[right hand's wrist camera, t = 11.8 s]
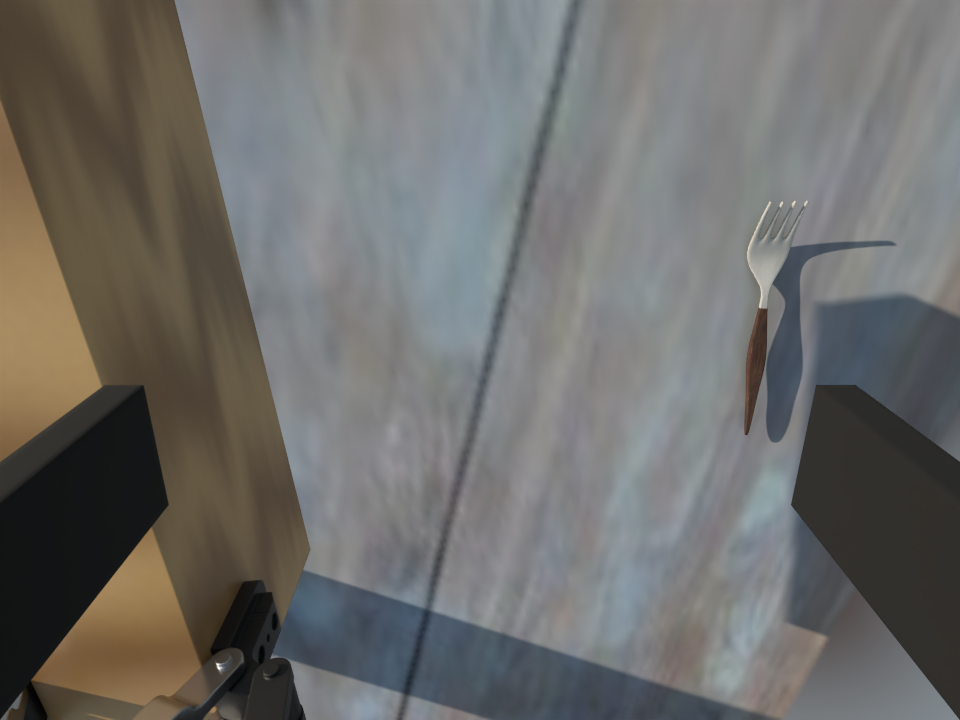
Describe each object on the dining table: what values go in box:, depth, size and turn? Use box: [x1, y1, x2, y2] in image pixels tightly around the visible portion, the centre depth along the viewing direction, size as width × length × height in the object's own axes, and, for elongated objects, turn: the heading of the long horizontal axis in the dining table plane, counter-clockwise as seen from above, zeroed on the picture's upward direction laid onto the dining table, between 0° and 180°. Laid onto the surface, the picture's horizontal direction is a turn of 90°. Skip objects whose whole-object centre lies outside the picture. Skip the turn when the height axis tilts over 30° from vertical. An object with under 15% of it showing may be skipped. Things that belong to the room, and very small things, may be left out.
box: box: [0, 0, 310, 720], centre depth 23 cm, size 27×6×12 cm, turn 6°
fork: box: [744, 200, 808, 435], centre depth 41 cm, size 3×16×2 cm, turn 2°
